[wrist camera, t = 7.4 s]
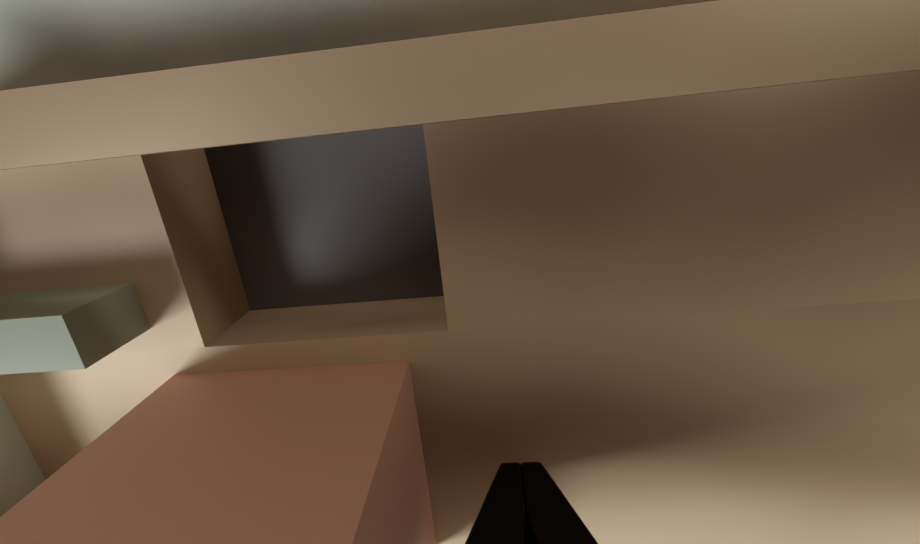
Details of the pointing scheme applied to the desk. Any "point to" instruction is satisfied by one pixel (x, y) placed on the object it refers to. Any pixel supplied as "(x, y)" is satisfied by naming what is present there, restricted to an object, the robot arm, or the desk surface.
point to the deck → (509, 257)
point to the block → (246, 465)
